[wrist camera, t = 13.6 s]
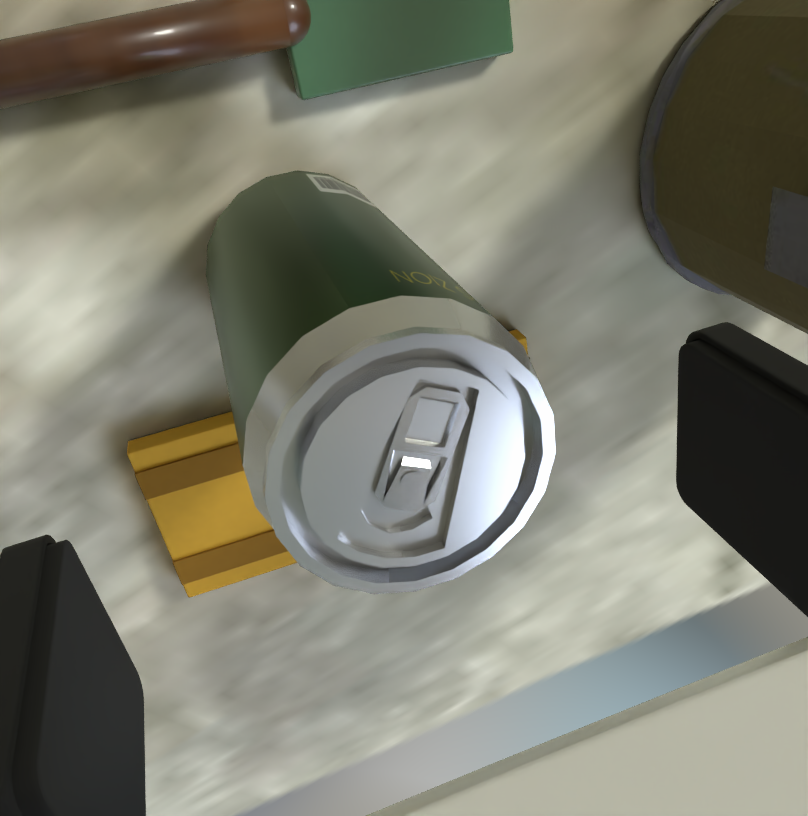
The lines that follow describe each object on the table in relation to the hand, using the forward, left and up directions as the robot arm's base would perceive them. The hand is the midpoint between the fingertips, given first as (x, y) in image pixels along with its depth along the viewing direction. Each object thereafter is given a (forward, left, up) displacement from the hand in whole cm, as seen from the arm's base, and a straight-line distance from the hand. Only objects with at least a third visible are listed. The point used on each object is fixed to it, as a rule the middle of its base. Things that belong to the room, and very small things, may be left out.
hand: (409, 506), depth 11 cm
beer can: (0, 0, -13) cm, 13 cm away
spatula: (-1, +6, -13) cm, 14 cm away
